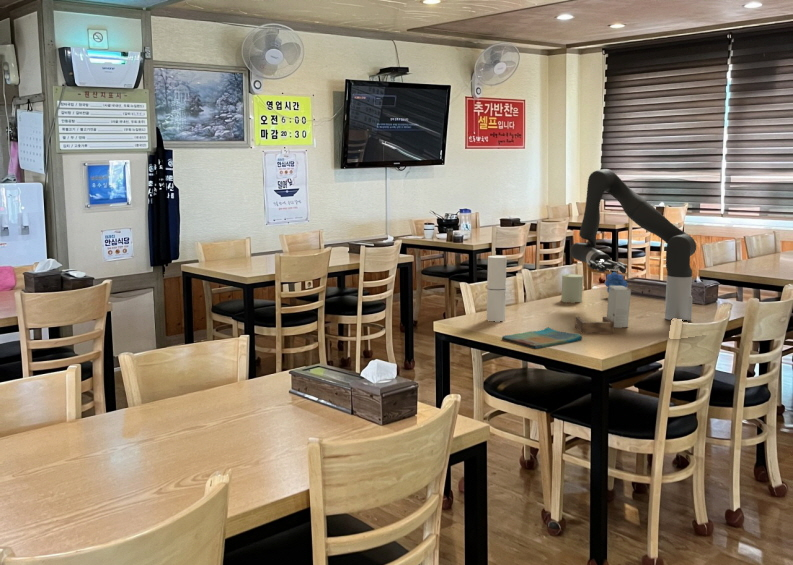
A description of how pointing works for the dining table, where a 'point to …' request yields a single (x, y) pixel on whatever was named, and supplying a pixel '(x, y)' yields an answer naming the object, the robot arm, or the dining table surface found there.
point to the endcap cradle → (595, 326)
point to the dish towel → (542, 338)
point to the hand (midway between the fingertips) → (614, 270)
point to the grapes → (615, 280)
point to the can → (572, 288)
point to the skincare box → (618, 305)
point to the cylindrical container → (496, 288)
